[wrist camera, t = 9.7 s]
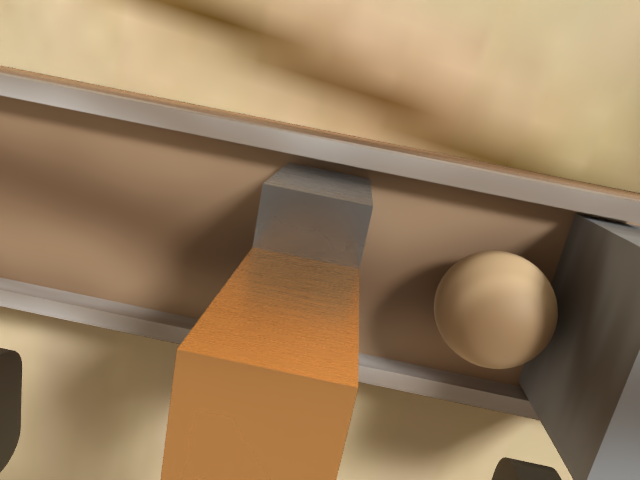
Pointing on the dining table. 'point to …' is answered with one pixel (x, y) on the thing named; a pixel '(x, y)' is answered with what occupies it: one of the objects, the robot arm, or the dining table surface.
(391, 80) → the dining table surface
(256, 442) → the sliding jaw
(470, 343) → the smooth beige ball
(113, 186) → the base
